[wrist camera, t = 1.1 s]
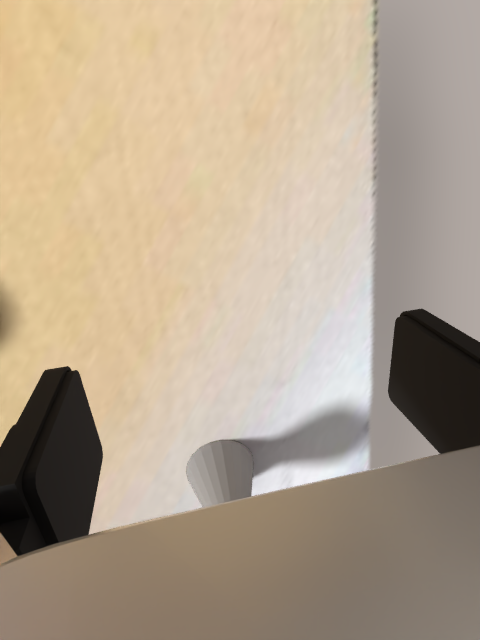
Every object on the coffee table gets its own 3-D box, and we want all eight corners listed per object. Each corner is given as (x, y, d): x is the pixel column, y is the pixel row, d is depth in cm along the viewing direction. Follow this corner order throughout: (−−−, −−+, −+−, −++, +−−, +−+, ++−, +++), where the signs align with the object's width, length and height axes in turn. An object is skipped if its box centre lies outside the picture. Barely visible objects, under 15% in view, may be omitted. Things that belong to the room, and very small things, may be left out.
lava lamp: (170, 479, 47) (197, 1141, 15) (212, 427, 45) (343, 1054, 13) (227, 502, 50) (345, 1080, 19) (268, 455, 48) (477, 1004, 17)
